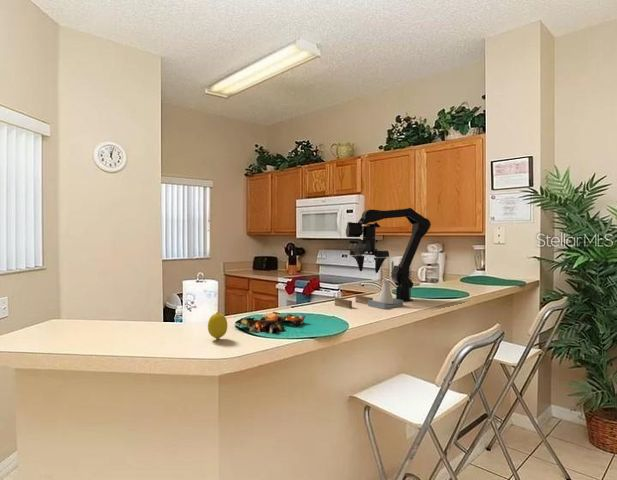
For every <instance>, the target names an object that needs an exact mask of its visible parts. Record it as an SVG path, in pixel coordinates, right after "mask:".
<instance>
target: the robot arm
mask: <svg viewBox="0 0 617 480" xmlns="http://www.w3.org/2000/svg"><path fill="white" fill-rule="evenodd" d="M403 217H404V218H406V219H407V221H408V222H409V223H410V224H411V236H410V238H409V241H408V243H407V245H406V248H405V251H404V253H403V255H402V257H401V260H400V262H399V263H398V264H397V265H393V269H392V271H391V272H390V274H391V275H390V277H391V279H392V282H394V284H395V286H396V290H395V291H396V292H395V298H394V299H400V300H403V302H409V301H413V300H414V298H412V297H411V296H412V295H411V292H412V291H411V289H412V288H413V287H414V282H413V281H412V280H411V279H410V274H411V273H410V272H411V267H410V266H411V264H412V262H413V259H414V257H415V255H416V253H417V251H418V248H419V246H420V243H421V242H422V241H421V240H422V239H423V237H424V236H425V235H426V234H427V233H428V231H429V230H430V228H431V227H432V226H431V225H432V224H431V221H430V219H429V218H426V217H424V216H423V215H421V214H419V212H416V211H415V210H414V209H413V208H412V207H406V208H402V209H401V208H400V209H399V208H398V209H389V210H381V209H373V208H372V209H366V210H364V211H363V212H362V213H361V216H360V219H359V220H358V221H357V222H351V221H348V222H347V225H346V228H345V236H346V238H361V236H362V239H360V242H359V244H358V243H357V244H356V245H354V246H353V247H352V248H351V249H350V251H349V256H351V257H352V258H354V259H355V261H356V264H357V267H358V269H359V272H362V271H363V269H364V261H365V256H374V257H373V260H374V268H375V269H374V271H375V274H378V273H379V271H380V269H381V267H382V265H383V263H384V261H386V259H387V258H389V257H390V252H389V251H388V250H387V249H386V250H385V249H381V250H378V248H376V243H378V239H376V235H377V234H376V230H377V228H381V225H380V224H379V223H378V221H381V220H385V219H386V220H387V219H395V218H397V219H398V218H403ZM365 225H366V226H365Z"/></svg>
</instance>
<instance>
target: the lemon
mask: <svg viewBox="0 0 617 480" xmlns="http://www.w3.org/2000/svg"><path fill="white" fill-rule="evenodd" d="M207 330H208V333H209V335H210V336H211V337H213V338H214V339H215V340H217V341H218V340H220V339H221V338H222V337H224V336H225V335H226V334H227V331H228V321H227V318H226V316H225V315H224V314H223V313H220V312H218V311H217V312H215V313H214V314H212V315H211V316H210V317H209V320H208V321H207Z"/></svg>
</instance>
